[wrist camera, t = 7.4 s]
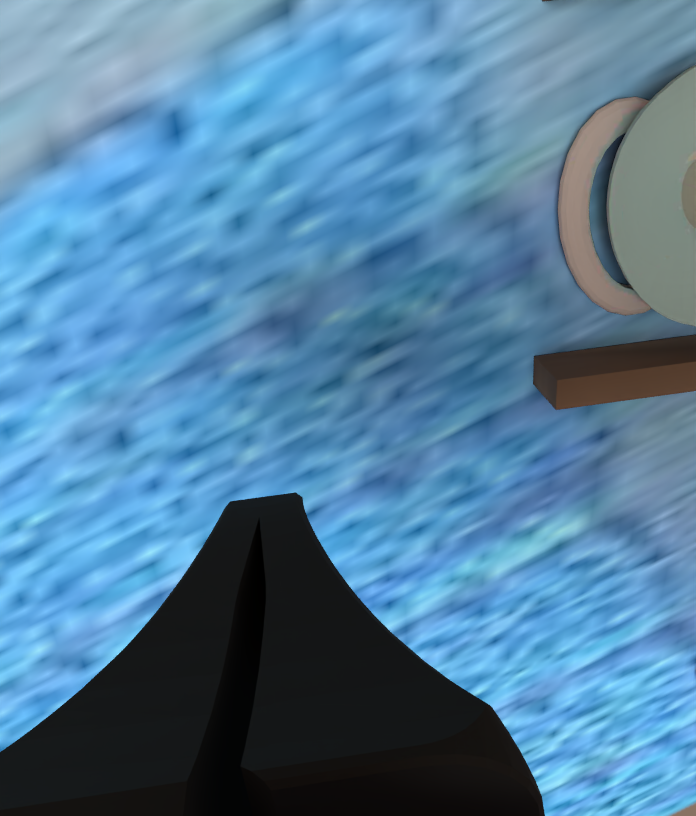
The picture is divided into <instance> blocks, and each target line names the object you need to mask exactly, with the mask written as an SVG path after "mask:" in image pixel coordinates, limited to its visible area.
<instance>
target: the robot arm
mask: <svg viewBox="0 0 696 816" xmlns="http://www.w3.org/2000/svg"><path fill="white" fill-rule="evenodd" d="M0 816H545V814H544V808H543V801H542V796H541V794H540V791H539V789H538V786H537V784H536V781H535V779H534V777H533V775H532V773H531V771H530V769H529V767H528V765H527V763H526V761H525V759H524V758H523V756H522V754H521V752H520V750H519V748H518V747H517V745H516V743H515V742H514V740H513V739H512V737H511V735H510V734H509V732H508V730H507V729H506V727H505V726H504V724H503V723H502V721H501V720H500V718H499V717H498V715H497V714H496V713H495V711H494V710H493V708H492V707H491V706H490V705H488V704H487V703H485V702H484V701H482V700H480V699H479V698H477V697H475V696H474V695H472V694H471V693H469V692H467V691H466V690H464V689H463V688H461V687H459V686H458V685H456V684H455V683H453V682H452V681H450V680H449V679H448V678H446V677H445V676H443V675H442V674H441V673H439V672H438V671H437V670H435V669H434V668H433V667H431V666H430V665H429V664H427V663H426V662H425V661H423V660H422V659H421V658H420V657H419V656H418V655H417V654H415V653H414V652H413V651H412V650H411V649H410V648H408V647H407V646H406V645H405V644H404V643H403V642H402V641H400V640H399V639H398V638H397V637H396V636H395V635H393V634H392V633H391V632H390V631H389V630H388V629H387V628H386V627H385V626H384V625H383V624H382V623H381V622H380V621H379V620H378V619H377V618H376V617H375V616H374V615H373V614H372V612H371V611H370V610H369V609H368V608H367V607H366V606H365V605H364V604H363V602H362V601H361V600H360V599H359V598H358V597H357V595H356V594H355V593H354V592H353V590H352V589H351V588H350V587H349V585H348V584H347V583H346V581H345V580H344V579H343V577H342V576H341V575H340V573H339V572H338V570H337V569H336V568H335V566H334V565H333V563H332V562H331V560H330V559H329V557H328V555H327V554H326V552H325V550H324V549H323V547H322V545H321V544H320V542H319V540H318V539H317V537H316V535H315V533H314V531H313V529H312V527H311V525H310V522H309V520H308V518H307V515H306V513H305V510H304V506H303V499H302V497H301V496H300V495H298V494H297V493H289V494H282V495H274V496H267V497H260V498H252V499H245V500H238V501H230V502H229V504H228V505H227V506H226V507H225V509H224V511H223V513H222V514H221V516H220V518H219V520H218V522H217V523H216V525H215V527H214V529H213V530H212V532H211V534H210V535H209V537H208V539H207V540H206V542H205V544H204V545H203V547H202V549H201V550H200V552H199V553H198V555H197V556H196V558H195V559H194V561H193V562H192V564H191V565H190V567H189V568H188V570H187V571H186V573H185V574H184V576H183V577H182V579H181V580H180V581H179V583H178V584H177V585H176V587H175V588H174V589H173V591H172V592H171V593H170V595H169V596H168V597H167V599H166V600H165V601H164V603H163V604H162V605H161V607H160V608H159V609H158V611H157V612H156V613H155V614H154V615H153V617H152V618H151V619H150V620H149V622H148V623H147V624H146V625H145V626H144V627H143V629H142V630H141V631H140V632H139V633H138V634H137V635H136V636H135V637H134V639H133V640H132V641H131V642H130V643H129V644H128V645H127V646H126V647H125V648H124V649H123V650H122V651H121V652H120V653H119V654H118V655H117V656H116V657H115V658H114V659H113V660H112V661H111V662H110V663H109V664H108V665H107V666H106V667H105V668H103V669H102V670H101V671H100V672H99V673H98V674H97V675H96V676H95V677H94V678H93V679H92V680H91V681H90V682H89V683H88V684H86V685H85V686H84V687H83V688H82V689H81V690H80V691H79V692H78V693H76V694H75V695H74V696H73V697H72V698H70V699H69V700H68V701H67V702H66V703H64V704H63V705H62V706H61V707H60V708H58V709H57V710H56V711H55V712H53V713H52V714H51V715H50V716H48V717H47V718H46V719H45V720H43V721H42V722H41V723H39V724H38V725H37V726H36V727H34V728H33V729H32V730H30V731H29V732H28V733H26V734H25V735H24V736H22V737H21V738H20V739H18V740H17V741H16V742H14V743H13V744H11V745H10V746H8V747H7V748H6V749H4V750H3V751H1V752H0Z"/></svg>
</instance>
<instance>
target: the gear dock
mask: <svg viewBox="0 0 696 816" xmlns="http://www.w3.org/2000/svg"><path fill="white" fill-rule="evenodd" d="M542 1H551V0H542ZM533 384H534V385H535V387H536V388H537V389H538V390H539V391H540V392H541V393H542V395H543V396H544V397H545V398H546V399H547V400H548V401H549V403H550V404H551V405H552V406H553V407H554V408H555V409H556V410H559V409H566V408H573V407H581V406H588V405H595V404H603V403H610V402H617V401H625V400H632V399H639V398H647V397H654V396H661V395H669V394H676V393H683V392H691V391H696V335H690V336H683V337H675V338H668V339H660V340H652V341H645V342H637V343H630V344H622V345H615V346H607V347H600V348H592V349H585V350H577V351H570V352H562V353H554V354H547V355H539V356H534V375H533Z"/></svg>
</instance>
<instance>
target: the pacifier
mask: <svg viewBox="0 0 696 816" xmlns="http://www.w3.org/2000/svg"><path fill="white" fill-rule="evenodd" d="M624 133H626V134H625V136H624V138H623V140H622V142H621V144H620V146H619V149H618V151H617V154H616V156H615V160H614V163H613V166H612V170H611V174H610V179H609V185H608V193H607V222H608V230H609V236H610V240H611V245H612V249H613V252H614V255H615V257H616V260H617V262H618V264H619V266H620V268H621V271H622V273H623V275H624V277H625V278H626V280H627V281H628V282H629V284H630V285H624V284H621V283H617V282H616V281H614V280H613V279H612V278H611V276H610V275H609V274H608V273H607V271H606V270H605V269H604V267H603V266H602V264H601V262H600V260H599V257H598V255H597V253H596V251H595V248H594V244H593V240H592V236H591V232H590V220H589V203H590V193H591V187H592V183H593V180H594V176H595V173H596V169H597V167H598V165H599V163H600V161H601V159H602V157H603V155H604V153H605V151H606V150H607V149H608V148H609V146H610V145H611V144H612V143H613V142H614V141H615V140H616V138H618V137H619V136H621V135H623V134H624ZM558 219H559V230H560V239H561V243H562V246H563V250H564V254H565V257H566V261H567V264H568V266H569V268H570V270H571V272H572V274H573V276H574V278H575V280H576V282H577V284H578V285H579V287H580V288H581V289H582V290H583V291H584V292H585V294H586V295H587V296H588V297H589V298H590V299H591V301H592V302H594V303H596V304H597V305H599V306H600V307H602V308H603V309H605V310H607V311H608V312H612V313H617V314H621V315H625V316H626V315H633V314H639V313H644V312H646V311H648V310H650V309H653V310H655V311H656V312H658V313H660V314H661V315H663V316H665V317H666V318H668V319H670V320H673V321H676V322H679V323H682V324H688V325H692V326H696V65H694V66H692V67H691V68H689V69H687V70H686V71H684V72H683V73H681V74H680V75H679V76H677V77H676V78H675V79H673V80H672V81H671V82H669V83H668V84H667V85H666V86H665V87H664V88H663V89H662V90H661V91H659V92H658V93H657V94H656V95H655V96H654V97H653V98H652V99H651V100H650V101H649V100H645V99H642V98H638V97H631V98H624V99H616V100H614V101H613V102H611V103H609V104H607V105H606V106H604V107H602V108H601V109H599V110H597V111H596V112H595V113H594V114H593V116H592V117H591V118H590V119H589V120H588V121H587V122H586V124H585V125H584V126H583V127H582V128H581V129H580V131H579V133H578V135H577V137H576V139H575V141H574V143H573V145H572V147H571V149H570V150H569V152H568V155H567V158H566V162H565V166H564V169H563V173H562V176H561V180H560V189H559V200H558Z"/></svg>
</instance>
